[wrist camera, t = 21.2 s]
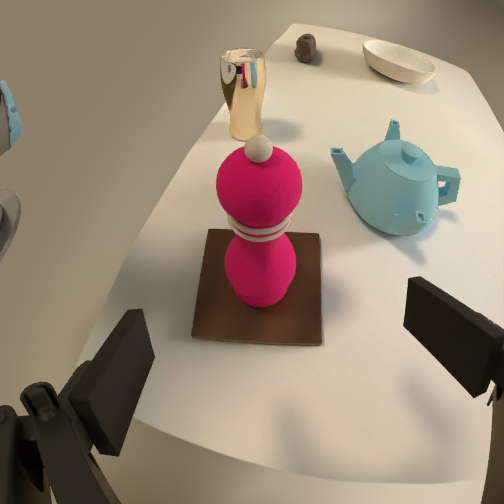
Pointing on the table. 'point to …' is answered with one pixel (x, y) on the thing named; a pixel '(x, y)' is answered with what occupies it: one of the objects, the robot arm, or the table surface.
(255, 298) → the pepper mill
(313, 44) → the perforated stone tool
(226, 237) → the walnut board
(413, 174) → the teapot
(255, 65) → the beer glass
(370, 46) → the serving bowl
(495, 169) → the table surface
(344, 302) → the table surface
